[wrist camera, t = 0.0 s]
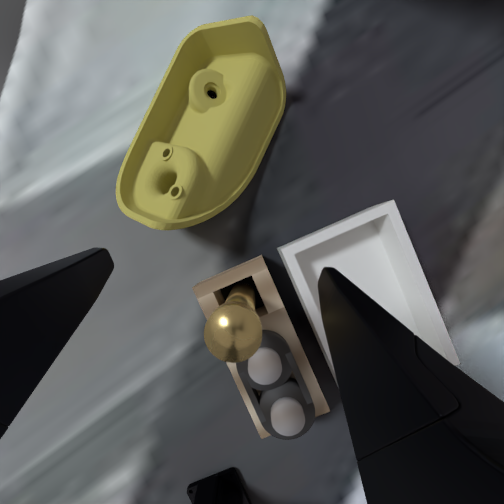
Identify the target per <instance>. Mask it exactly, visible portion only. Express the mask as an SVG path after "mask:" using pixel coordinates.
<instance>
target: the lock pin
mask: <svg viewBox="0 0 504 504" xmlns="http://www.w3.org/2000/svg"><path fill="white" fill-rule="evenodd" d="M204 339H205V343H206V345H207V347H208V349H209V350H210V352H211V353H212V354H213V355H214V356H215V357H217V358H218V359H220V360H222V361H225V362H230V363H237V362H242V361H245V360H247V359H249V358H250V357H252V356H253V355H254V354H255V353H256V352H257V350H258V349H259V347H260V344H261V341H262V324H261V320H260V317H259V316H258V314H257V312H256V311H255V291H254V289H253V288H252V286H250V285H249V284H247V283H238V284H236V285H235V286H234V287H233V288H232V289H231V291H230V293H229V295H228V297H227V299H226V301H225V303H223V304H222V305H220V306H218V307H217V308H216V309H215V310H214V311H213V312H212V314H211V316H210V317H209V319H208V320H207V323H206V325H205V329H204Z"/></svg>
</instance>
